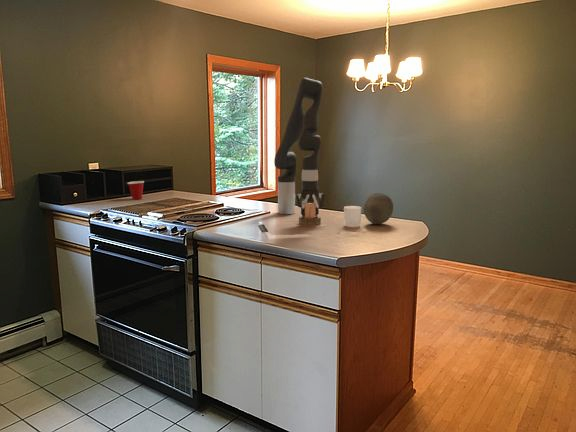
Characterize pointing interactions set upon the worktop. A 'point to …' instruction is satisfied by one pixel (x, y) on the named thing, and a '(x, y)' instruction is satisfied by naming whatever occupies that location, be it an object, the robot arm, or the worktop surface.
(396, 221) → the worktop surface
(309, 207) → the peach ice lolly
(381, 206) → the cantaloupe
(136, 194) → the plastic cup
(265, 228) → the charcoal mat
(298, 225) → the walnut holder
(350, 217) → the white cup
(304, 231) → the worktop surface
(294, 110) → the robot arm
